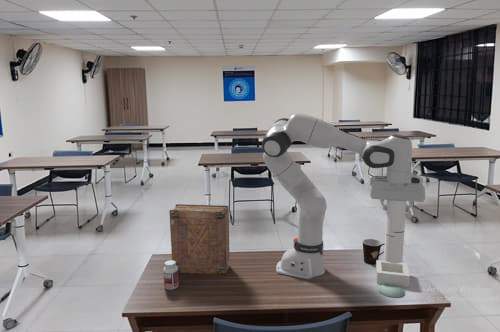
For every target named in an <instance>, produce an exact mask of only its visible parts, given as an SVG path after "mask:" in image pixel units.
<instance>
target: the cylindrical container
mask: <svg viewBox="0 0 500 332" xmlns="http://www.w3.org/2000/svg"><path fill="white" fill-rule="evenodd" d="M386 205H387V210H385V211H386V213H385V227H384V229H385V230H384V243H383V244H384V245H383V246H384V247H383V249H384V250H383V251H384V253H383V261H387V262H390V263H401V262H402V263H403V259H404V258H403V257H404V256H403V255H404V243H405V228H406V215H407V214H406V213H407V212H406V207H407V201H399V200H386Z"/></svg>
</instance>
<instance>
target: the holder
mask: <svg viewBox="0 0 500 332" xmlns="http://www.w3.org/2000/svg"><path fill="white" fill-rule="evenodd" d="M408 266H409V265H408V263H407V262H403V261H402V262H401V263H390V262H387V261H385V260H383V259H382V260H380V259H378V260H376V265H375V276H376V277H375V279H376V280H375V281H376V284H378V285H379V284H380V285H383V284H392V285H396V286H399V287H405V288H409V287H410V281H411V279H410V277H411V275H410V271H409V268H408Z"/></svg>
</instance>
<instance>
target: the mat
mask: <svg viewBox="0 0 500 332" xmlns="http://www.w3.org/2000/svg"><path fill="white" fill-rule="evenodd" d="M378 292H379V293H380V294H381V295H383V296H385V297H387V298H388V297H389V298H401V297H404V295H405V290H404V289H403V288H402V286H396V285H392V284H380V285H379V286H378Z"/></svg>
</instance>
